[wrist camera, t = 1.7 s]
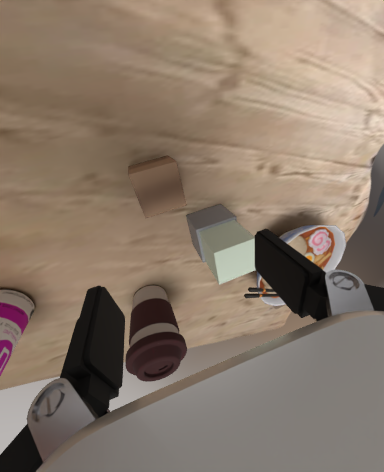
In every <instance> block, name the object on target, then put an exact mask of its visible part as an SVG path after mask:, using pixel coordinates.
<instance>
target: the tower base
mask: <svg viewBox="0 0 384 472" xmlns="http://www.w3.org/2000/svg"><path fill="white" fill-rule="evenodd" d="M186 217H187V222H188V226H189V230H190V234H191V238H192V242H193V245H194V247H195V249H196V251H197V252H198V254H199V256H200V258H201V260H202V261H203V263H204V262H206V261H205V257H204V253H203V248H202V243H201V239H200V234H199V232H200V231H203V230H206V229H209V228H211V227H214V226H217V225H220V224H223V223H226V222H229V221H232V220H235V221H236V216H235V215H234V214H233V213H231V212H230V211H229V210H228V209H226V208H225V207H224V206H223V205H221V204H219V205H216V206H213V207H210V208H207V209H203V210H200V211H197V212H194V213H191V214H188V215H186Z"/></svg>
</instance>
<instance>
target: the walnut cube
mask: <svg viewBox="0 0 384 472" xmlns="http://www.w3.org/2000/svg"><path fill="white" fill-rule="evenodd" d="M128 175H129V177H130V180H131V182H132V185H133V187H134V190H135V192H136V195H137V198H138V200H139V203H140V205H141V208H142V210H143V213H144V215H145V218H148V217H151V216H155V215H158V214H161V213H164V212H167V211H170V210H173V209H176V208H179V207H183V206H186V205H187V204H186V200H185V196H184V192H183V188H182V184H181V179H180V175H179V171H178V167H177V163H176V161H175V160H173V159H172V158H170V157H169V156H165V157H161V158H157V159H154V160H150V161H147V162H143V163H139V164H136V165H132V166H129V168H128Z"/></svg>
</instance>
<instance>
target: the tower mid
mask: <svg viewBox="0 0 384 472" xmlns="http://www.w3.org/2000/svg"><path fill="white" fill-rule="evenodd" d="M199 234H200V239H201V243H202V248H203V253H204V257H205V261H206V263H207V264H208V266H209V268H210V270H211V271H212V273H213V275H214V276H215V278H216V280H217V281H218V283H219V284H222V283H224V282H227V281H230V280H232V279H235V278H237V277H240V276H242V275H245V274H247V273H250V272H252V271H255V270H256V269H255V237H254V236H253V235H252V234H251V233H250V232H248V231H247V230H246V229H245V228H244V227H242V226H241V225H240V224H239V223H238V222H237V221H235V220H232V221H229V222H226V223H223V224H220V225H217V226H214V227H211V228H209V229H206V230H203V231H200V232H199Z"/></svg>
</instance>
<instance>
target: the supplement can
mask: <svg viewBox="0 0 384 472" xmlns="http://www.w3.org/2000/svg"><path fill="white" fill-rule="evenodd" d="M33 312H34V304H33V302H32V301H31V299H29V297H27V296H26V295H24V294H23V293H20V292H17V291H13V290H0V376H1V374H2V372H3V370H4V368H5V366H6V364H7V362H8V360H9V358H10V356H11V354H12V352H13V351H14V349H15V347H16V345H17V343H18V341H19V339H20V337H21V335H22V333H23V331H24V329H25V328H26V326H27V324H28V322H29V320H30V318H31V316H32V314H33Z"/></svg>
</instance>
